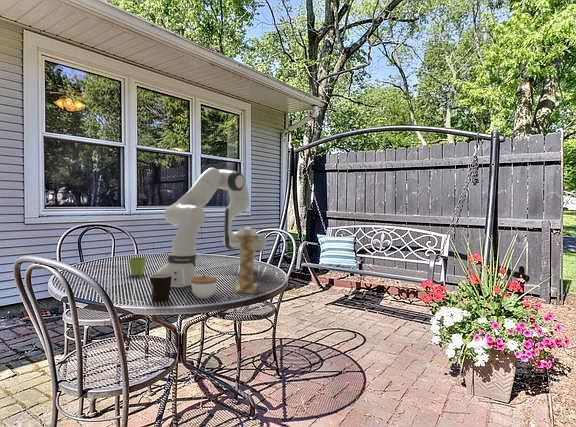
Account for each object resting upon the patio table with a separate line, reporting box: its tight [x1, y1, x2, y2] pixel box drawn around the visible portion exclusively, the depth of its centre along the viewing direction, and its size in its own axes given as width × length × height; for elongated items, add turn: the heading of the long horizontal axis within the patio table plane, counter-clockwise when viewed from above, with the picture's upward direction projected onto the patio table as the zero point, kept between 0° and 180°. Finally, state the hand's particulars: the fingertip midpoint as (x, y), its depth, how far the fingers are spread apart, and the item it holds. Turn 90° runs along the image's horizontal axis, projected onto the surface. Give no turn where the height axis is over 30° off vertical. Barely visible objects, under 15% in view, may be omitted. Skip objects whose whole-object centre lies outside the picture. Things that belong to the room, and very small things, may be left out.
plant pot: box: [127, 257, 148, 276], centre depth 197 cm, size 9×9×9 cm
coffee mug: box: [149, 273, 172, 303], centre depth 151 cm, size 12×9×10 cm
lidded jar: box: [190, 274, 218, 299], centre depth 156 cm, size 11×11×9 cm
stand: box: [234, 232, 259, 294], centre depth 169 cm, size 10×12×26 cm
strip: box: [238, 226, 257, 235], centre depth 174 cm, size 8×20×2 cm, turn 6°
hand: (247, 236), depth 195 cm, fingers open, 8 cm apart
